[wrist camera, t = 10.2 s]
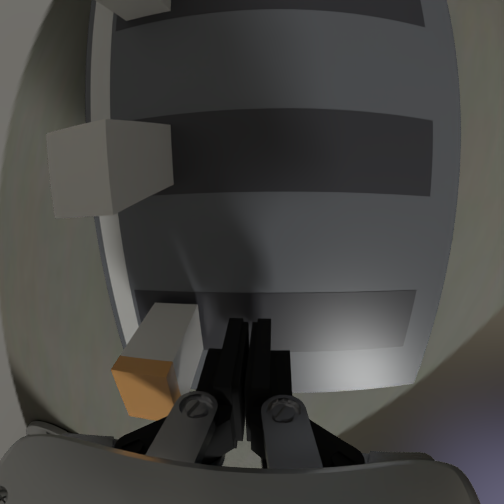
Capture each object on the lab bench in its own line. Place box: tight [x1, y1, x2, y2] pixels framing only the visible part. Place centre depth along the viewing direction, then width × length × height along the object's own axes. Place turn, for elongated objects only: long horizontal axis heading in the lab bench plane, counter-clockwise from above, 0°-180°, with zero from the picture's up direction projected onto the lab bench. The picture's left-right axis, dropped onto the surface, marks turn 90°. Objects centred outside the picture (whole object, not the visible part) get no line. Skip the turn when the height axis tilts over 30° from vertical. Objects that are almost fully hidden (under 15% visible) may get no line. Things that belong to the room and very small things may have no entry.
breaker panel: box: [46, 0, 461, 393], centre depth 10 cm, size 24×16×8 cm, turn 2°
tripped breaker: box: [111, 303, 203, 421], centre depth 12 cm, size 2×2×5 cm
